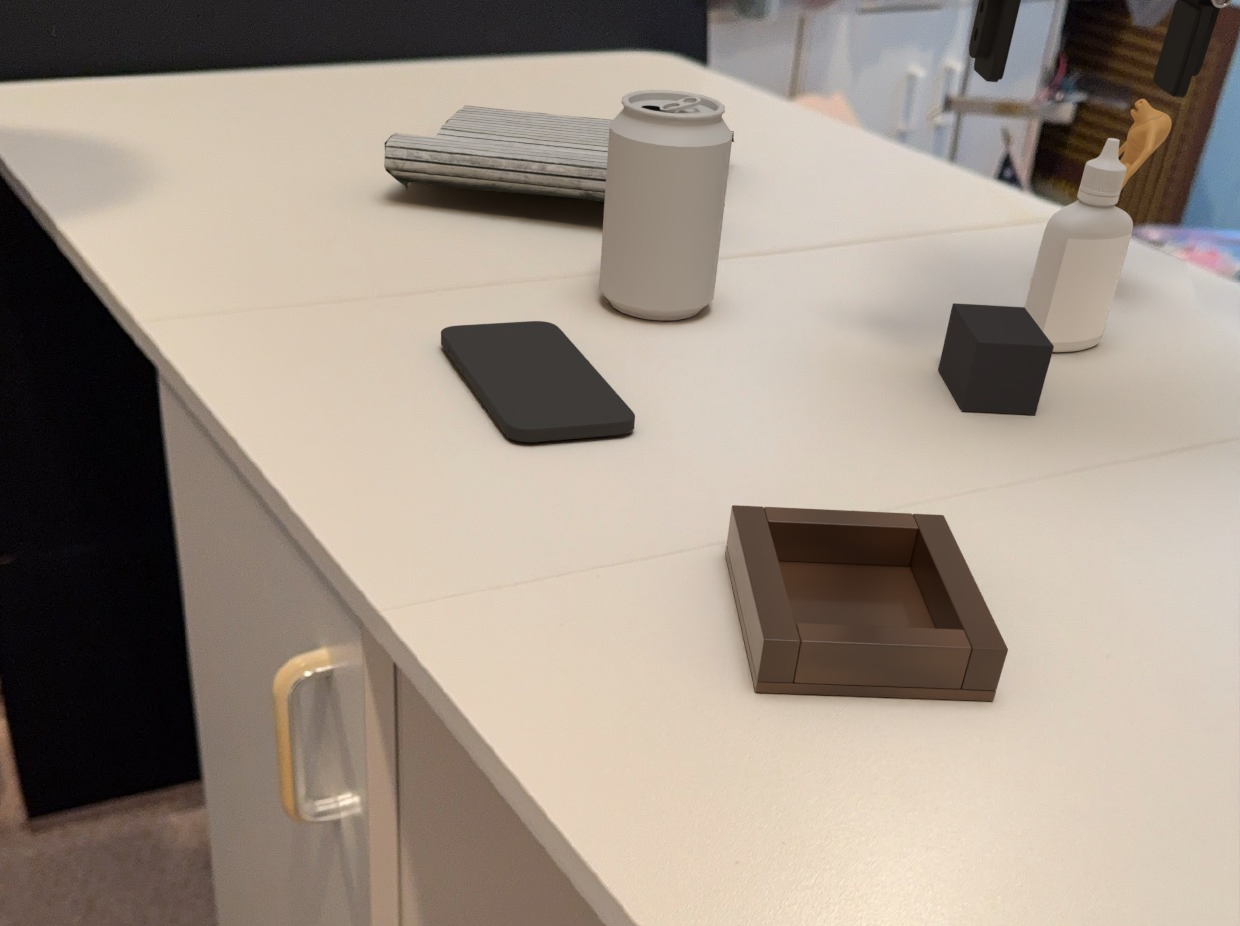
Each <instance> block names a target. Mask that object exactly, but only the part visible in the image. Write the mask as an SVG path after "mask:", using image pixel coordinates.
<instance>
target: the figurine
mask: <svg viewBox="0 0 1240 926" xmlns="http://www.w3.org/2000/svg"><path fill="white" fill-rule="evenodd" d="M1134 107H1135V108H1132V109H1130V116H1131V117H1132V118H1133V121H1134V122H1133V124H1132V125H1131V126H1130V128H1129V130H1128V132H1127V135H1126V141H1124V142H1123V144H1121V146H1119V152H1118V158H1119V157H1120V156H1121V155H1122V154H1123V155H1122V157H1121V159H1119V161H1120V162H1121V163H1122V164H1123V165H1125V166H1126V168H1127V171H1126V174H1125V178H1124V182H1123V185H1122V189H1121V191H1122V190H1123V189H1124V187H1125V186H1126V184H1127V183H1128V181H1129V180H1130V178H1131V177H1132V176H1133V175H1134V174H1136V172H1137V171H1138V170H1139V168H1140V167H1141V166H1142V165H1143V164H1144V163H1145V161H1146V160H1147V159H1148V158H1149V157H1150V156H1151V155H1152V154H1153V153H1154V152H1155V151H1156V150H1157V149H1159V147H1160V146H1161V145H1162V143H1164V141H1166V139H1167V137H1168V136H1169V134H1170V132H1171V129H1172V126H1173V125H1172V124H1173V123H1172V119H1171V117H1170V115H1168V114H1167V113H1166V112H1163V111H1160V110H1158V109H1155V108H1154V107H1152V106H1151V105H1150V103H1149V102H1148V101H1147V100H1146V99H1145V98H1140V99H1139V100H1137V101H1136V102H1135V103H1134ZM1123 152H1124V153H1123Z"/></svg>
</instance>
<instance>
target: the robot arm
mask: <svg viewBox="0 0 1240 926" xmlns="http://www.w3.org/2000/svg"><path fill="white" fill-rule="evenodd" d="M1021 2H1022V0H978V3H977V8H976V12H975V16H974V21H973V25H972V30H971V35H970V39H969V45H968V55H969V56H970V58H972V59H974V64H973V70H974V72H976V73H977V75H979V76H980V77H981V78H982V79H983V80H984V81H985V82H988V83H998V82H999V80H1002V79H1003V78H1004V74H1005V71H1006V67H1007V62H1008V58H1009V54H1010V53H1009V52H1010V49H1011V46H1012V45H1011V44H1012V41H1013V36H1014V32H1015V29H1016V24H1017V20H1018V14H1019V10H1020V6H1021ZM1232 2H1233V0H1176V1H1175V2H1174V7H1173V9H1172V12H1171V16H1170V19H1169V23H1168V26H1167V29H1166V33H1165V36H1164V40H1163V42H1162V47H1161V49H1160V53H1159V57H1158V61H1157V63H1156V67H1155V71H1154V74H1153V77H1152V81H1153V83H1154V84H1155V86H1157V87H1158V88H1159V89H1161V90H1162V91H1164V92H1165V93H1166V94H1168V95H1169V96H1171V97H1173V98H1185V97H1186V96H1187V93H1188V91H1189V88H1190V84H1191V81H1192V78H1193V77H1197V76H1198V75H1199V74H1200V72H1201V70H1202V68H1203V64H1204V62H1205V59H1206V55H1207V52H1208V50H1209V49H1208V48H1209V46H1210V42H1211V39H1212V36H1213V34H1214V30H1215V27H1216V23H1217V21H1218V17H1219V15H1220V14H1219V13H1220V10H1221V9H1222V8H1226V7H1228V6H1229V5H1230V4H1231V3H1232Z"/></svg>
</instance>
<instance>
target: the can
mask: <svg viewBox="0 0 1240 926" xmlns="http://www.w3.org/2000/svg"><path fill="white" fill-rule="evenodd" d="M621 104H622V106H623V108H622V109H621V111H619V113H618V114H616V116H615V117H614V118H613V119H611V120H612V121H611V123H610V127H609V141H608V157H607V172H606V188H605V202H603V203H604V204H603V219H602V220H603V221H602V222H603V223H602V237H601V252H600V267H599V283H598V289H599V291H600V292H601V293H602V295H603V296H604V297H605V298H606V299H607V300H608V301H609V304H610V305H611V306H612V308H613V309H615V310H617V311H618V312H620V313H622V314H625V315H628V316H630V317H633V318H639V319H644V320H649V321H664V322H665V321H679V320H686V319H689V318H691V317H694V316H696V315H698V313H700V312H701V310H702V309H703V308H705V307H706V306H707V305H709V304H710V303H711V302H712V301H713V300H714V298H715V291H716V283H717V274H718V264H719V256H720V247H721V239H722V238H721V237H722V231H723V221H724V214H725V205H726V195H727V187H728V177H729V169H730V162H731V152H732V143H733V142H732V132H731V131H732V130H731V129H730V128H729V126H728V124H727V123H726V121H725V120H724V118H723V114H725V113H726V106H725V105H724V103H722V102H721V101H719V100H718V99H716V98H713V97H710V96H707V95H704V94H699V93H695V92H689V91H683V90H672V89H671V90H670V89H646V90H645V89H644V90H637V91H632V92H628V93H626V94H625V95H624V96H622V97H621Z"/></svg>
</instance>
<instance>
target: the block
mask: <svg viewBox="0 0 1240 926" xmlns="http://www.w3.org/2000/svg"><path fill="white" fill-rule="evenodd" d="M1024 307H1025V306H1008V305H993V304H990V305H989V304H975V303H974V304H973V303H955V302H954V303H952V306H951V310H950V314H949V319H948V324H947V326H946V333H945V336H944V341H943V346H942V350H941V354H940V359H939V364H938V368H937V370H938V372H939V374H940V376H941V377H942V379H943V381H944V383H945V384H946V386H947V387H948V389H949V391H950V392H951V395H952V396H953V398H954V400H955V402H956V404H957V405H958V407H959V409H960V411H961V412H970V413H988V414H989V413H990V414H991V413H992V414H1009V415H1029V416H1035V415H1036V414H1037V410H1038V407H1039V403H1040V399H1041V396H1042V393H1043V388H1044V385H1045V381H1046V377H1047V374H1048V370H1049V366H1050V362H1051V358H1052V356H1053V353H1054V352H1053V348H1054V346H1053V344H1052V343H1051V342H1050V340H1049V339H1048V338H1047V337H1046V335H1045V334H1044V333H1043V331H1042V330H1041V329H1040V327H1039V326H1038V325H1037V323H1036V322H1035V321H1034V319H1033V318H1032V317H1031V315H1030V314H1029V313H1028V311H1027V310H1026V309H1025V308H1024Z"/></svg>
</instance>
